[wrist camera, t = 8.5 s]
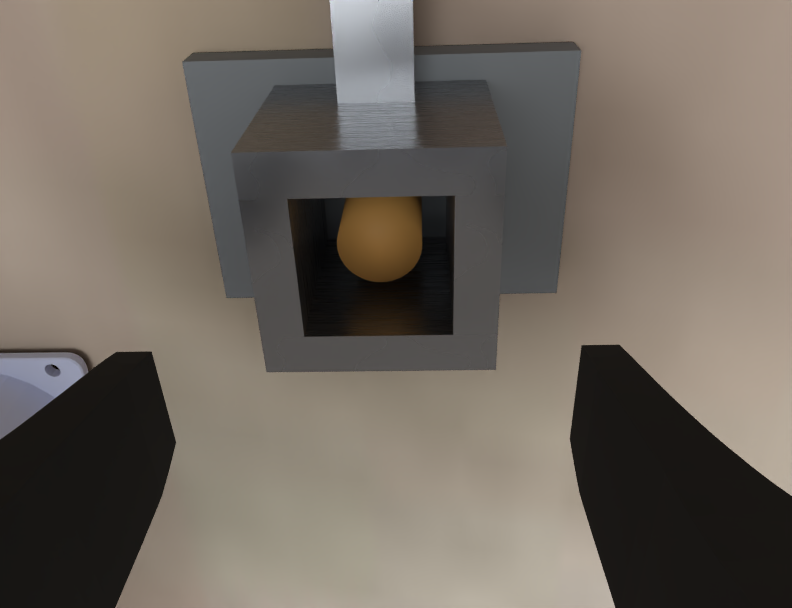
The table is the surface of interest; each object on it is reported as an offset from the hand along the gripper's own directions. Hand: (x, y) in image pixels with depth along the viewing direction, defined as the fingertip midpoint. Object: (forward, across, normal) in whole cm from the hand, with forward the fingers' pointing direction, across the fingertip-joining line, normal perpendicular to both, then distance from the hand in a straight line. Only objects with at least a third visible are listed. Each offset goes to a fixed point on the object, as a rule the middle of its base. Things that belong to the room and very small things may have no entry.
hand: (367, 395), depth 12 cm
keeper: (+10, 0, 0) cm, 10 cm away
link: (+9, 0, -2) cm, 9 cm away
